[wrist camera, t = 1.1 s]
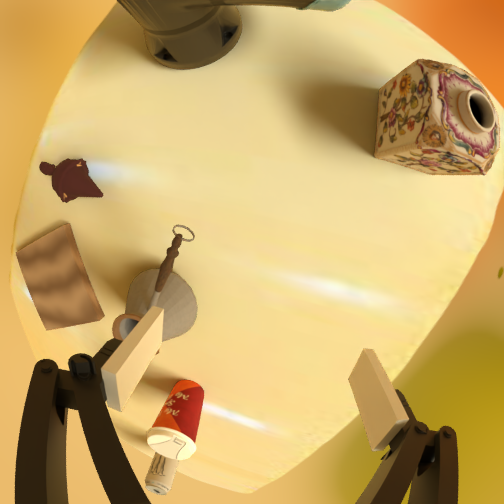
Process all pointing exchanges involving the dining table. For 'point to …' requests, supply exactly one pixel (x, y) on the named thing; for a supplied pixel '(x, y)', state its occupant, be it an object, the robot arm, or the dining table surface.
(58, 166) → the icecream
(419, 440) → the robot arm
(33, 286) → the serving board
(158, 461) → the energy drink can
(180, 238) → the coffee pot
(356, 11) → the dining table surface
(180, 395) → the coffee cup
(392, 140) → the decorative jar
